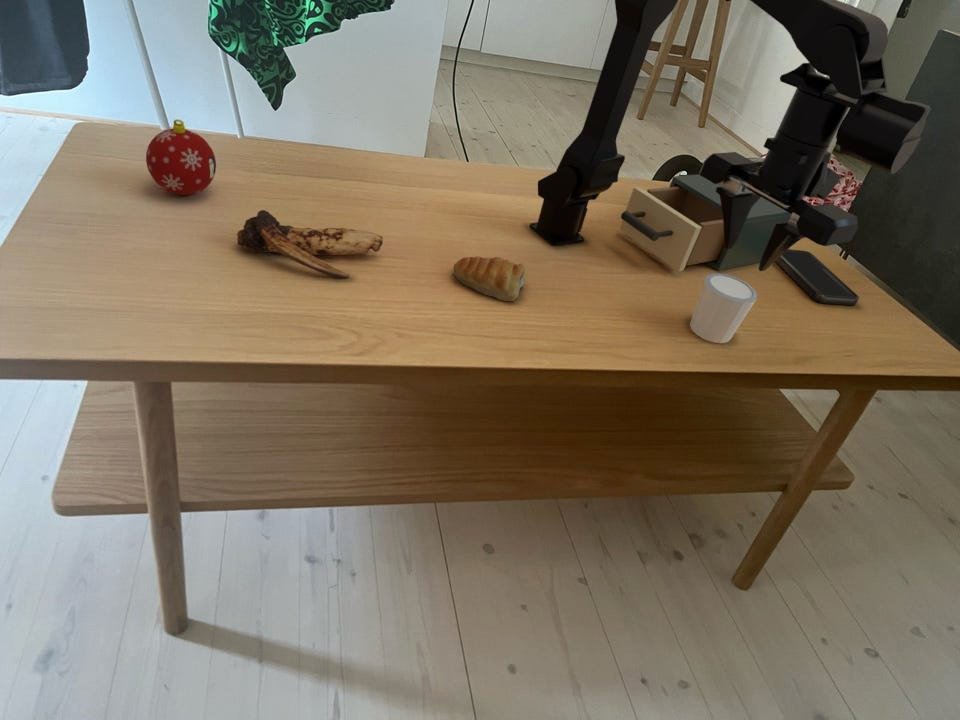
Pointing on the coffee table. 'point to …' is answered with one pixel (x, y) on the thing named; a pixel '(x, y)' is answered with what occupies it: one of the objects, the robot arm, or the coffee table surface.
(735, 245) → the cabinet
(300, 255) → the bone fish hook
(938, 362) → the coffee table surface
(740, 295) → the white cylinder
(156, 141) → the christmas ornament
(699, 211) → the drawer
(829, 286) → the phone
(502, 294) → the pastry
